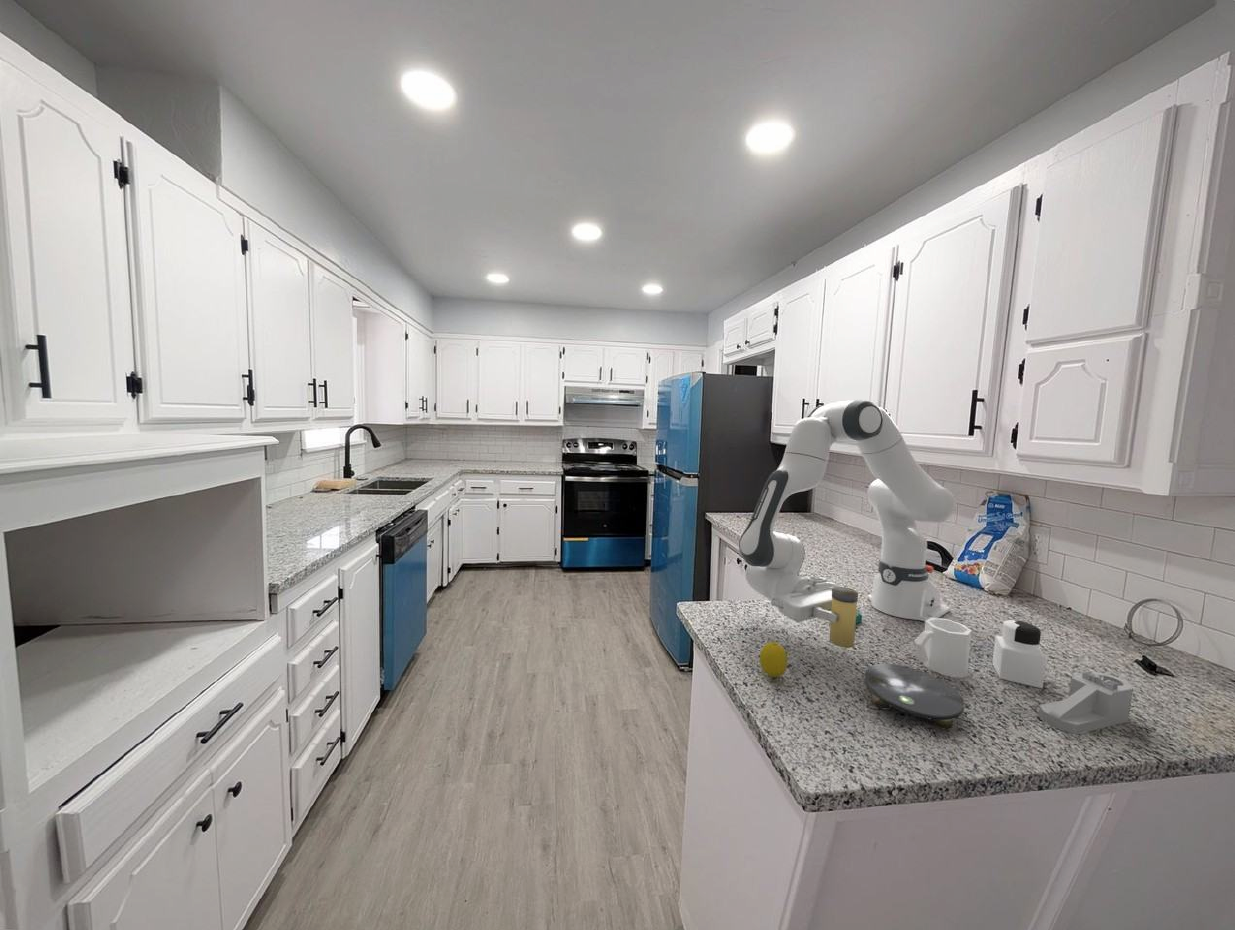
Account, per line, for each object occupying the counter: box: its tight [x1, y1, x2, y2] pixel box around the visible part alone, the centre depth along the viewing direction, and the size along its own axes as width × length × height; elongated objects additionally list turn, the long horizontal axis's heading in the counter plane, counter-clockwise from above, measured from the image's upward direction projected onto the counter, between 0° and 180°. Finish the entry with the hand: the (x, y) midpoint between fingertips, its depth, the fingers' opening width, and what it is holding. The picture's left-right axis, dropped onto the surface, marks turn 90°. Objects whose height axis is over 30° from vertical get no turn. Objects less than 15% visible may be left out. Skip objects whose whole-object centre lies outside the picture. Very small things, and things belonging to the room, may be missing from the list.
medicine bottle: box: [992, 619, 1047, 689], centre depth 97 cm, size 7×7×12 cm
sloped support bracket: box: [1037, 670, 1134, 735], centre depth 83 cm, size 6×18×8 cm, turn 105°
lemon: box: [759, 641, 788, 679], centre depth 94 cm, size 6×6×8 cm
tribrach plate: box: [864, 663, 965, 730], centre depth 86 cm, size 16×16×4 cm
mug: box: [913, 617, 973, 679], centre depth 99 cm, size 12×9×10 cm
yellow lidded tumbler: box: [829, 586, 859, 649], centre depth 99 cm, size 5×5×12 cm
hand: (847, 616), depth 98 cm, fingers closed on yellow lidded tumbler, 5 cm apart
